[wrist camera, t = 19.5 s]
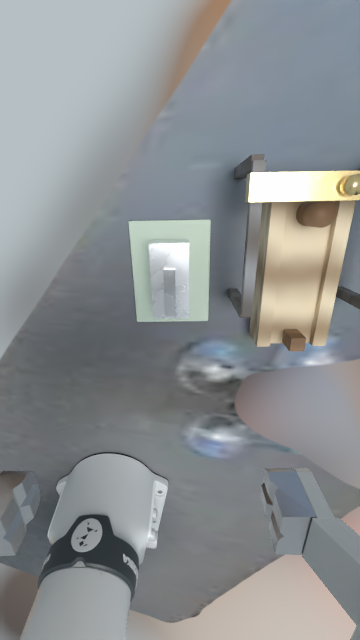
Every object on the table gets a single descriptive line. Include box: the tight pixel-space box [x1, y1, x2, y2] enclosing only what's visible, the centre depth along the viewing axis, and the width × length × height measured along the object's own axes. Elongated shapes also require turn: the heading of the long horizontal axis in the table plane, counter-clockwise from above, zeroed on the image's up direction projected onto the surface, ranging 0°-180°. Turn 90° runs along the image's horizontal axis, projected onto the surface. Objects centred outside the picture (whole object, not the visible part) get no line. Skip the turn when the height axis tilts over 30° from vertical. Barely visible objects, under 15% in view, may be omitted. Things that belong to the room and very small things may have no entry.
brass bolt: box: [245, 171, 360, 203], centre depth 20 cm, size 2×15×2 cm, turn 91°
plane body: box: [228, 154, 360, 351], centre depth 28 cm, size 19×14×8 cm
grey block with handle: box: [149, 239, 189, 319], centre depth 29 cm, size 8×4×5 cm, turn 1°
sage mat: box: [129, 220, 210, 322], centre depth 32 cm, size 12×9×1 cm
